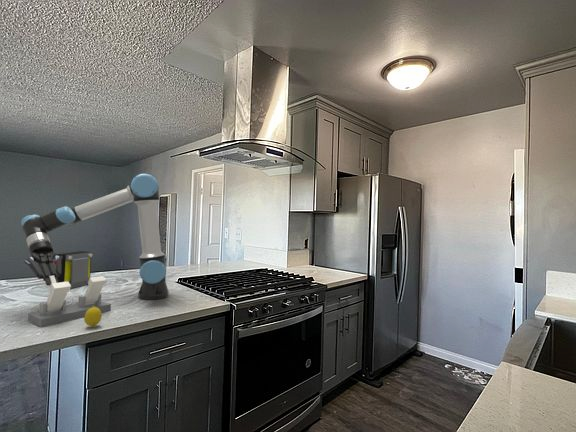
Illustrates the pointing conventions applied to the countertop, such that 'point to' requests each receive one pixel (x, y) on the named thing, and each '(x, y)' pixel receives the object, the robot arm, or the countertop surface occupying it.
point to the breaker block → (65, 312)
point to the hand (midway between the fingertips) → (55, 290)
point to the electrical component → (75, 268)
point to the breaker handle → (94, 289)
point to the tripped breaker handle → (57, 295)
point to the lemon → (93, 316)
